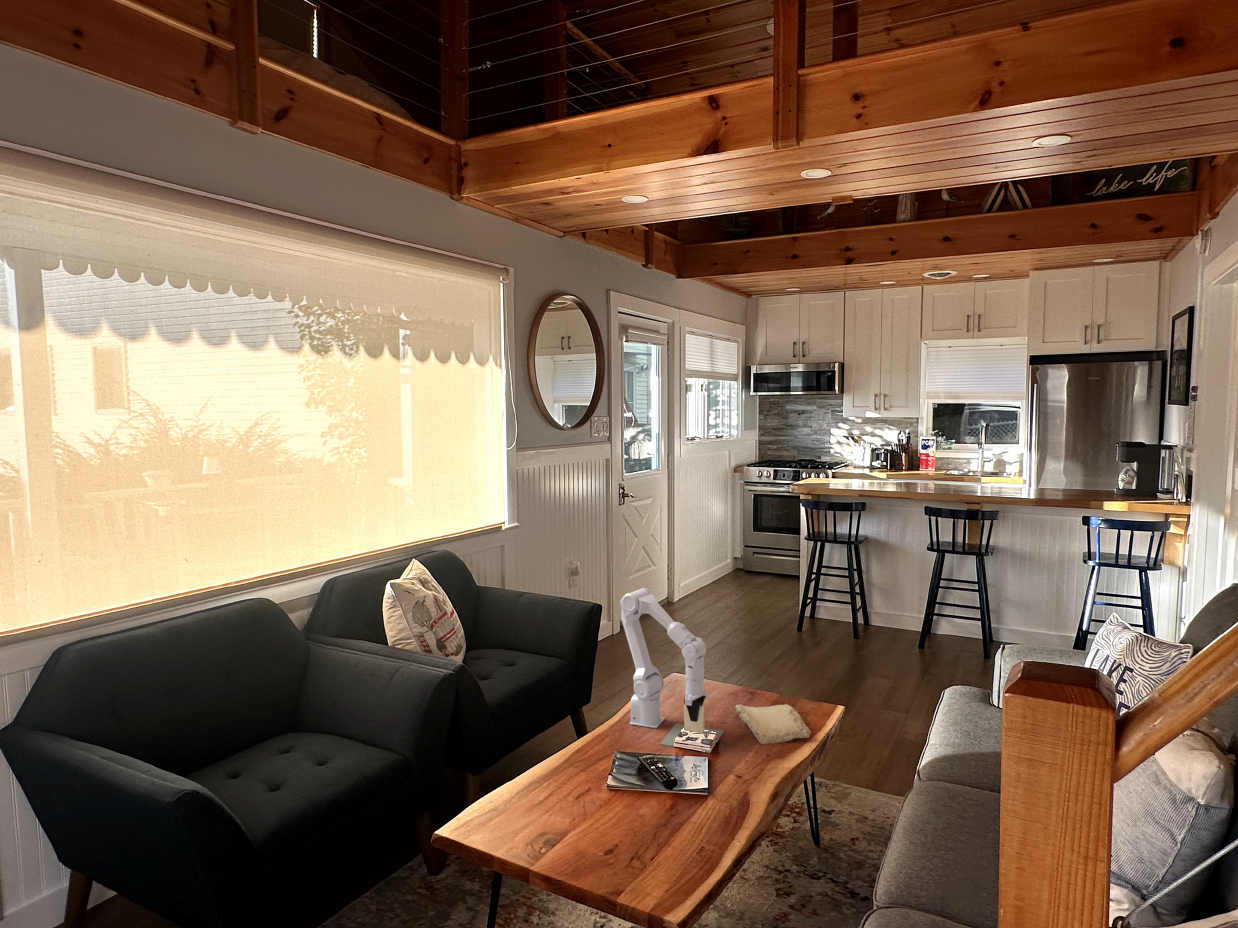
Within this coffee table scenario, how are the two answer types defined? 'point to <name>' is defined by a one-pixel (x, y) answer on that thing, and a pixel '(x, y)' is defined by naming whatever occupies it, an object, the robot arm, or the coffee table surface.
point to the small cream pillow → (774, 723)
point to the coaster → (693, 725)
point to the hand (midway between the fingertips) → (695, 719)
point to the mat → (677, 729)
